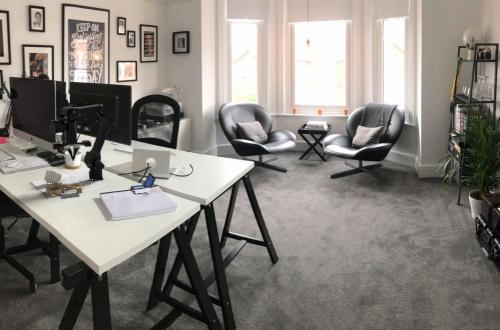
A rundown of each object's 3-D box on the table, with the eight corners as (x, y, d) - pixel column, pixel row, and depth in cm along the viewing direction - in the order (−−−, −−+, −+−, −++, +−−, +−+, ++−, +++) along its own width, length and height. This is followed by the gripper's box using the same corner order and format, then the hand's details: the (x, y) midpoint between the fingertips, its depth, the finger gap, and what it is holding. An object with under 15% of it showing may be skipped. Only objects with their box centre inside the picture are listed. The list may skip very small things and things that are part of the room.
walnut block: (62, 190, 219) (61, 182, 218) (64, 194, 214) (63, 185, 213) (49, 192, 216) (48, 183, 215) (50, 195, 211) (49, 186, 210)
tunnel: (78, 187, 225) (78, 181, 224) (82, 192, 216) (81, 186, 215) (46, 191, 218) (45, 185, 217) (47, 196, 208) (47, 190, 208)
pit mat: (77, 193, 215) (77, 192, 215) (79, 196, 210) (79, 195, 210) (60, 195, 211) (60, 194, 211) (61, 198, 206) (61, 198, 206)
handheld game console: (130, 188, 225) (129, 174, 223) (150, 185, 230) (150, 172, 228) (135, 194, 214) (134, 180, 212) (156, 192, 219) (156, 178, 217)
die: (61, 182, 236) (49, 168, 234) (68, 177, 231) (55, 163, 229) (50, 190, 230) (37, 177, 228) (56, 185, 225) (43, 171, 223)
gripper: (86, 128, 235) (89, 156, 238) (49, 130, 226) (52, 159, 229) (90, 130, 225) (92, 160, 229) (51, 133, 216) (54, 163, 220)
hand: (73, 160), depth 227 cm, fingers closed
